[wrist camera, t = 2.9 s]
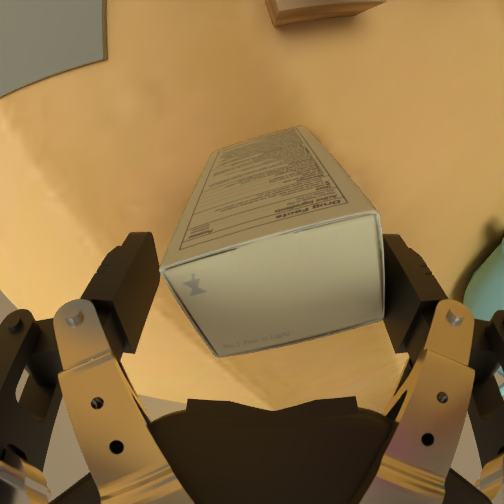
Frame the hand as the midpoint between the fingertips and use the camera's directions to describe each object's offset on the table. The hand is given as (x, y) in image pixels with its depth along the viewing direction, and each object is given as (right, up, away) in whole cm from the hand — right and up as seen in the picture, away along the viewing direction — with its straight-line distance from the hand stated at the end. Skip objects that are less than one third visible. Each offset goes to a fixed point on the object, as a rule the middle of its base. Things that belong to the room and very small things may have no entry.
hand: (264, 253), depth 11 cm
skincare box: (+1, +6, +8) cm, 10 cm away
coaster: (-16, +17, 0) cm, 23 cm away
